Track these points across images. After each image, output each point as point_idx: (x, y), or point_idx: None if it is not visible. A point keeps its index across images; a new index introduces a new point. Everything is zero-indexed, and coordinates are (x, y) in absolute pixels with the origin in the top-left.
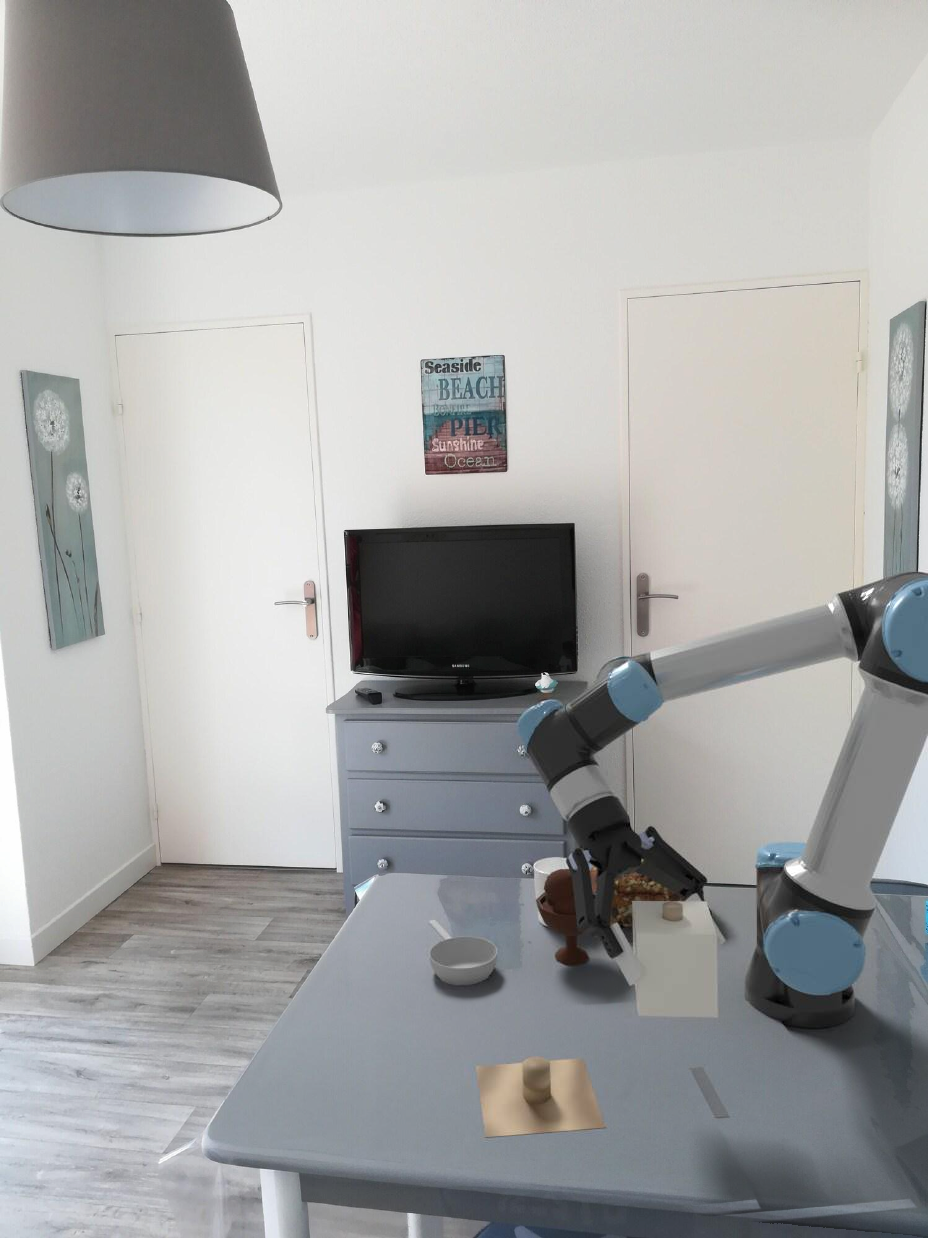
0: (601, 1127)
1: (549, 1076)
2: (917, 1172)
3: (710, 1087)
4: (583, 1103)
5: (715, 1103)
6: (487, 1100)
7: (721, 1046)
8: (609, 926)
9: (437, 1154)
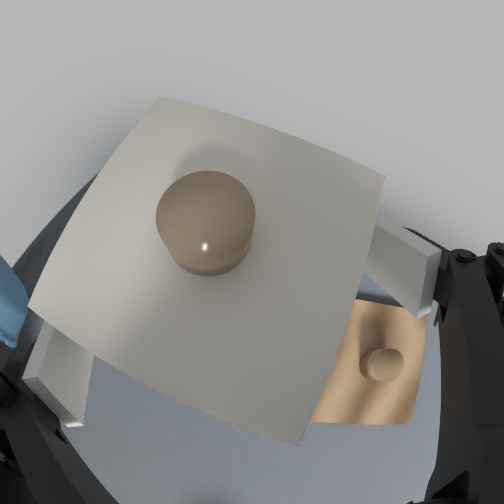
0: None
1: (373, 355)
2: (97, 174)
3: None
4: None
5: None
6: (416, 365)
7: (121, 395)
8: (441, 265)
9: None
